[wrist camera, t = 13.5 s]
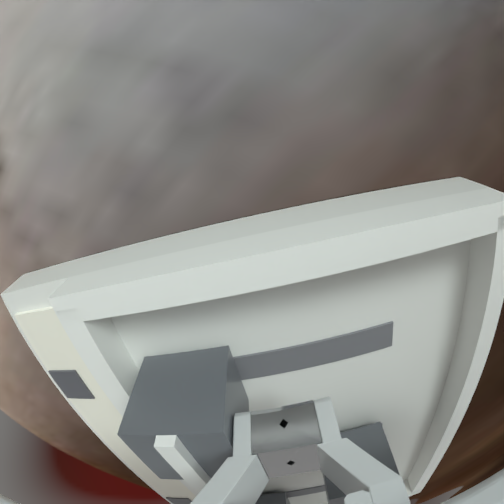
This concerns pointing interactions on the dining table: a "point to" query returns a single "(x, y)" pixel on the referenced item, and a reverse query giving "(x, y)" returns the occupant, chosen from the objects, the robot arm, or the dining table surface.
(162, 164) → the dining table surface
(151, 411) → the tab
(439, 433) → the switch bank
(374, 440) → the tab
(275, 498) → the tab
